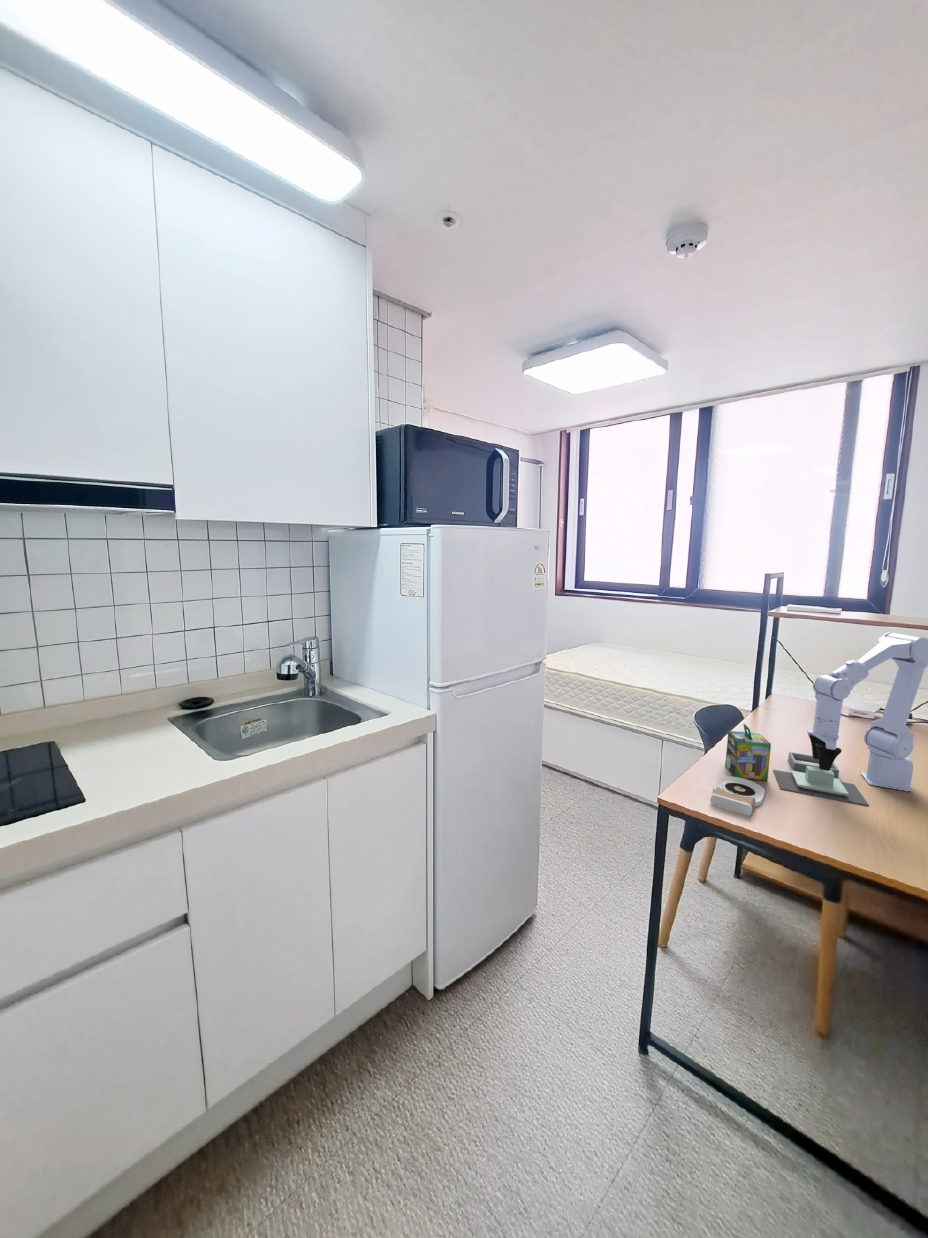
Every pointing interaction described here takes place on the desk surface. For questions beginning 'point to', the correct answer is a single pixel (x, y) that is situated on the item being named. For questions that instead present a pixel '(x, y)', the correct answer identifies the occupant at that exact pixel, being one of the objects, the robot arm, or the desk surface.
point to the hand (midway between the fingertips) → (820, 764)
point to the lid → (819, 781)
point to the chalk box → (748, 755)
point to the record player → (737, 794)
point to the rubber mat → (789, 784)
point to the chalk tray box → (807, 763)
